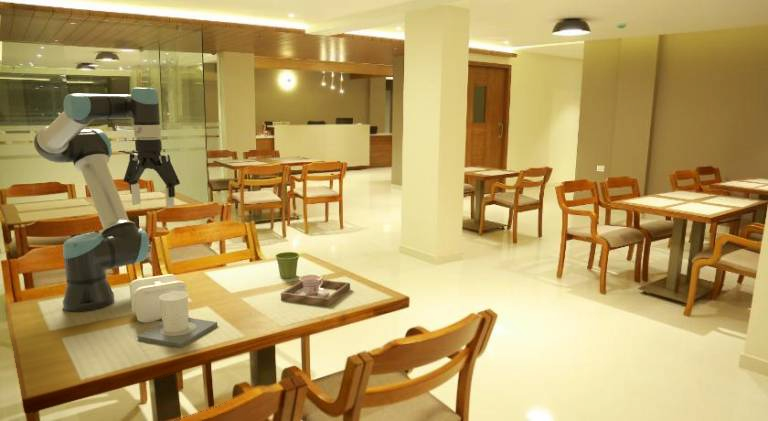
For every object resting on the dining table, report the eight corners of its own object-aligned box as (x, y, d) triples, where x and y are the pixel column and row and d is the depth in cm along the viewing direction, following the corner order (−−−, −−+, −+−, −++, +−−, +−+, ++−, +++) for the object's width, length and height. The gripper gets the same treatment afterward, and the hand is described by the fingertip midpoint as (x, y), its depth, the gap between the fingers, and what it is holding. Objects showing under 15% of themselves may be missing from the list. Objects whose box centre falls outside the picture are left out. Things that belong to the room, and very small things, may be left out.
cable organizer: (181, 305, 179) (178, 272, 176) (188, 315, 170) (186, 280, 168) (132, 315, 171) (128, 280, 168) (137, 326, 162) (134, 289, 160)
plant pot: (305, 275, 211) (304, 254, 209) (289, 281, 203) (288, 259, 201) (287, 271, 216) (286, 250, 214) (270, 277, 208) (270, 256, 206)
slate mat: (138, 339, 152) (137, 335, 152) (177, 319, 167) (177, 315, 166) (180, 347, 147) (180, 343, 147) (217, 325, 162) (217, 321, 161)
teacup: (304, 303, 181) (304, 285, 180) (288, 293, 190) (287, 277, 189) (334, 295, 188) (334, 278, 187) (317, 286, 198) (316, 270, 196)
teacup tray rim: (281, 300, 184) (280, 293, 183) (306, 284, 200) (305, 277, 200) (328, 306, 177) (328, 299, 177) (350, 289, 194) (350, 282, 194)
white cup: (180, 334, 152) (178, 301, 150) (155, 332, 154) (153, 299, 152) (195, 323, 160) (193, 292, 158) (171, 321, 161) (169, 290, 160)
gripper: (107, 138, 167) (113, 204, 171) (171, 140, 158) (176, 210, 162) (126, 136, 174) (132, 201, 178) (188, 139, 165) (193, 206, 169)
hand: (153, 205), depth 170 cm, fingers open, 13 cm apart
